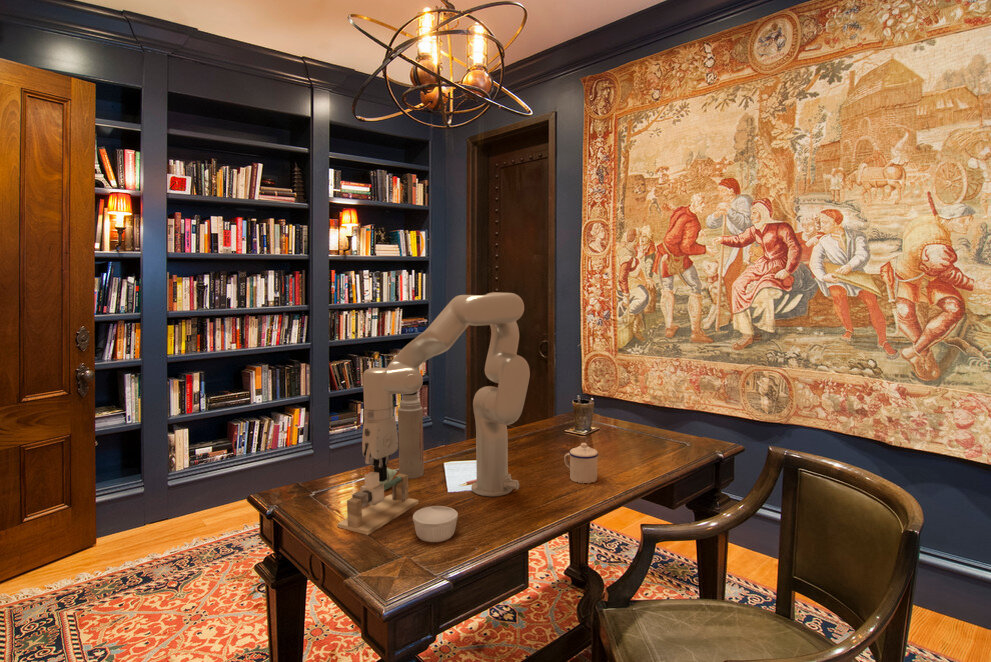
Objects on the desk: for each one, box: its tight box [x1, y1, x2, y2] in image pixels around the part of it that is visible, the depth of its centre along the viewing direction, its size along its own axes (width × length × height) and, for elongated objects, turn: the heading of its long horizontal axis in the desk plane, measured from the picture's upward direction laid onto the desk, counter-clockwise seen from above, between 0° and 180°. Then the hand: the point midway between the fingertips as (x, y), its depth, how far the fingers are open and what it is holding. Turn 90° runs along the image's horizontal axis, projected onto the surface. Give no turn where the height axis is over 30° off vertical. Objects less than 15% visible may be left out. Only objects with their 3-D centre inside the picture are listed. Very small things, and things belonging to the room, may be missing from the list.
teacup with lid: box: [563, 442, 599, 484], centre depth 176 cm, size 12×9×12 cm
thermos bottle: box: [397, 391, 425, 480], centre depth 179 cm, size 8×8×28 cm
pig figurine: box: [379, 467, 399, 484], centre depth 168 cm, size 8×4×7 cm, turn 137°
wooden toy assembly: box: [336, 473, 419, 536], centre depth 149 cm, size 22×10×9 cm, turn 153°
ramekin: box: [412, 505, 459, 543], centre depth 137 cm, size 11×11×5 cm
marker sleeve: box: [359, 471, 385, 506], centre depth 146 cm, size 4×5×8 cm
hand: (380, 479), depth 149 cm, fingers closed
